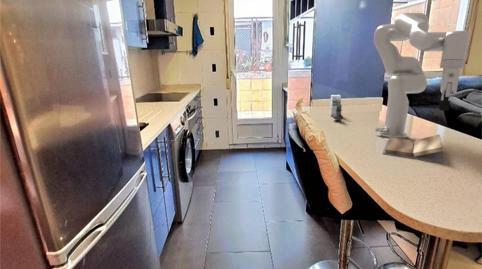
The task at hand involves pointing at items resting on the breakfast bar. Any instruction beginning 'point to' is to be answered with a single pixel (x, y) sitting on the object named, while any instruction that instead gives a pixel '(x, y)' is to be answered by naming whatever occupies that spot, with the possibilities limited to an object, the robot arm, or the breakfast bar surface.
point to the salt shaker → (338, 114)
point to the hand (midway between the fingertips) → (443, 110)
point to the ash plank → (427, 145)
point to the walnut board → (400, 147)
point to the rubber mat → (422, 156)
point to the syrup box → (334, 104)
